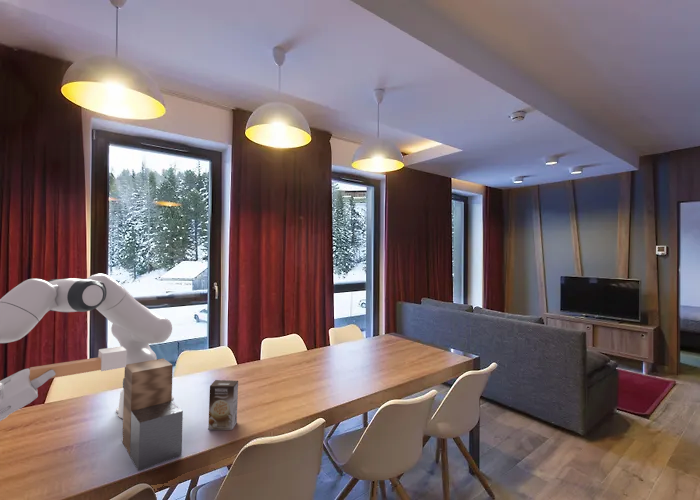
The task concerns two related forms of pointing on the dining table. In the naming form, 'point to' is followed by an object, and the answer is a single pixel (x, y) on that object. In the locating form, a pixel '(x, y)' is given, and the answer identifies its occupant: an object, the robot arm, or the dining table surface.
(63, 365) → the wooden handled mallet
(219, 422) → the coffee box
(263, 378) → the dining table surface
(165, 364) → the tall wood-grain pillar
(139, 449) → the block
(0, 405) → the robot arm
